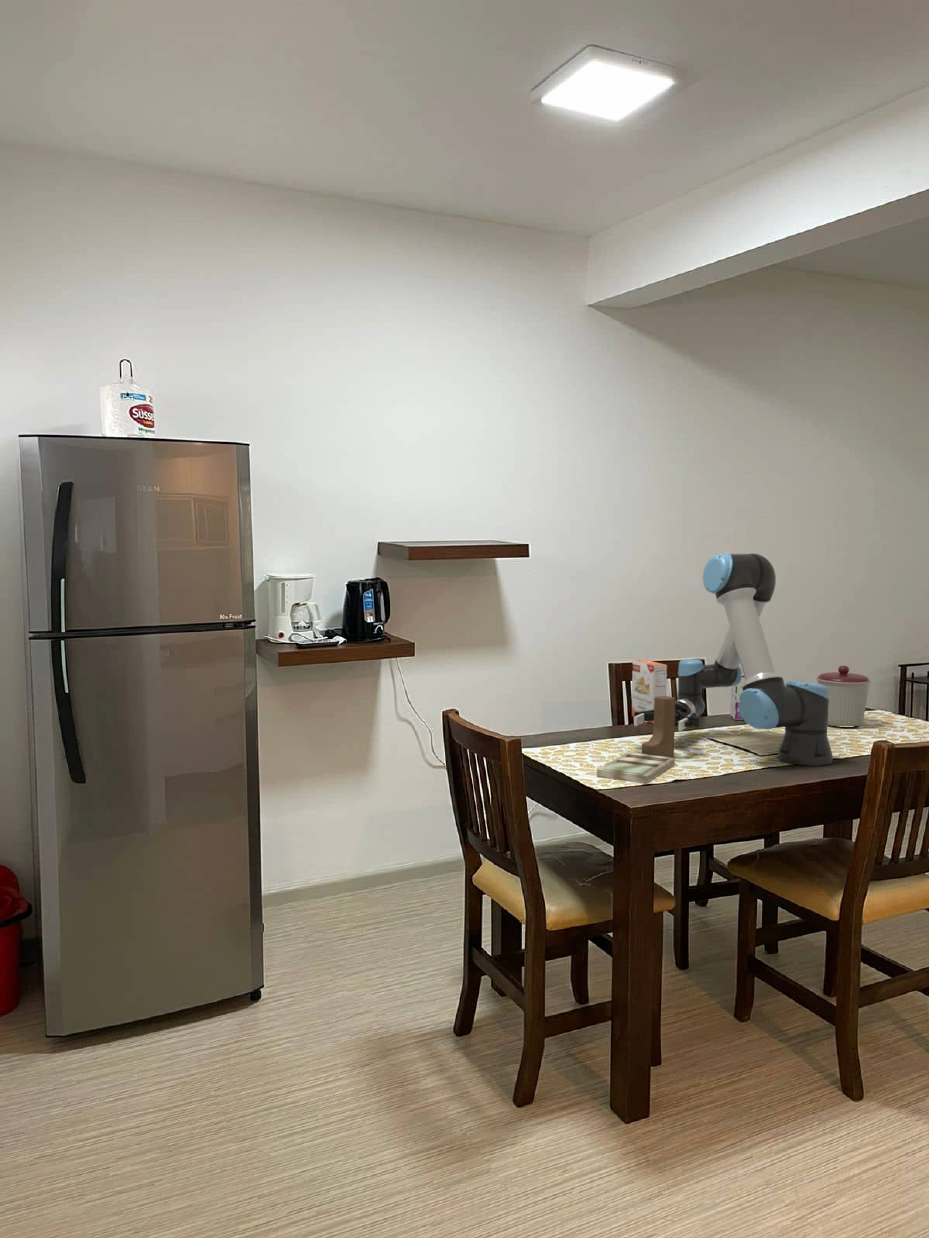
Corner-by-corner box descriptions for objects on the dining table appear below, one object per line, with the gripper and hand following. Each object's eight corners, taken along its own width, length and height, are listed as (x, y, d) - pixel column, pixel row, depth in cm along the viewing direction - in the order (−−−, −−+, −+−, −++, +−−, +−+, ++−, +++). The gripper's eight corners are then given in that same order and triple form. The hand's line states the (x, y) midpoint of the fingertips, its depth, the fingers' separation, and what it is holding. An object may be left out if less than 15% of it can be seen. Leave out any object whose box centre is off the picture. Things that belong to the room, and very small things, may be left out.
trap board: (674, 764, 271) (674, 756, 271) (646, 783, 250) (646, 774, 250) (628, 758, 278) (628, 751, 278) (596, 776, 257) (597, 768, 257)
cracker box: (630, 717, 343) (631, 660, 341) (644, 716, 345) (646, 659, 344) (651, 724, 330) (653, 664, 328) (666, 723, 332) (668, 664, 331)
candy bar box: (758, 717, 343) (760, 673, 342) (764, 720, 338) (766, 675, 337) (729, 718, 342) (730, 673, 340) (735, 721, 337) (736, 675, 335)
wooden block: (651, 761, 275) (652, 700, 274) (640, 757, 279) (642, 697, 278) (674, 757, 280) (675, 697, 278) (664, 754, 284) (665, 695, 282)
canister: (825, 730, 321) (827, 669, 319) (805, 720, 339) (808, 662, 337) (878, 730, 321) (881, 669, 319) (856, 720, 339) (858, 662, 337)
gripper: (719, 728, 292) (698, 741, 274) (641, 720, 305) (617, 731, 286) (719, 704, 291) (699, 715, 273) (642, 697, 304) (617, 707, 286)
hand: (657, 723), depth 280 cm, fingers open, 13 cm apart
